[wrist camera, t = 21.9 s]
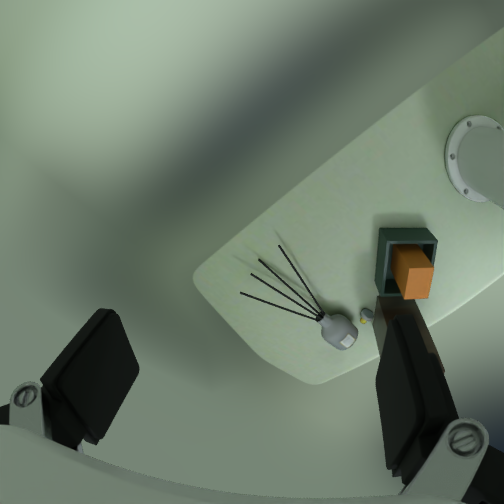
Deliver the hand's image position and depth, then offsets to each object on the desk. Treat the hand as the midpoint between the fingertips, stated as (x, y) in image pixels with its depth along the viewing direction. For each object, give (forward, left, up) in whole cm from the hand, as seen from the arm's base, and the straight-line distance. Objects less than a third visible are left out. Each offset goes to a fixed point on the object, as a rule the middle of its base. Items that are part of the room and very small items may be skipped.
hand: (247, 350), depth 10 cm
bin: (-16, +13, -33) cm, 39 cm away
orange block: (-16, +13, -33) cm, 39 cm away
